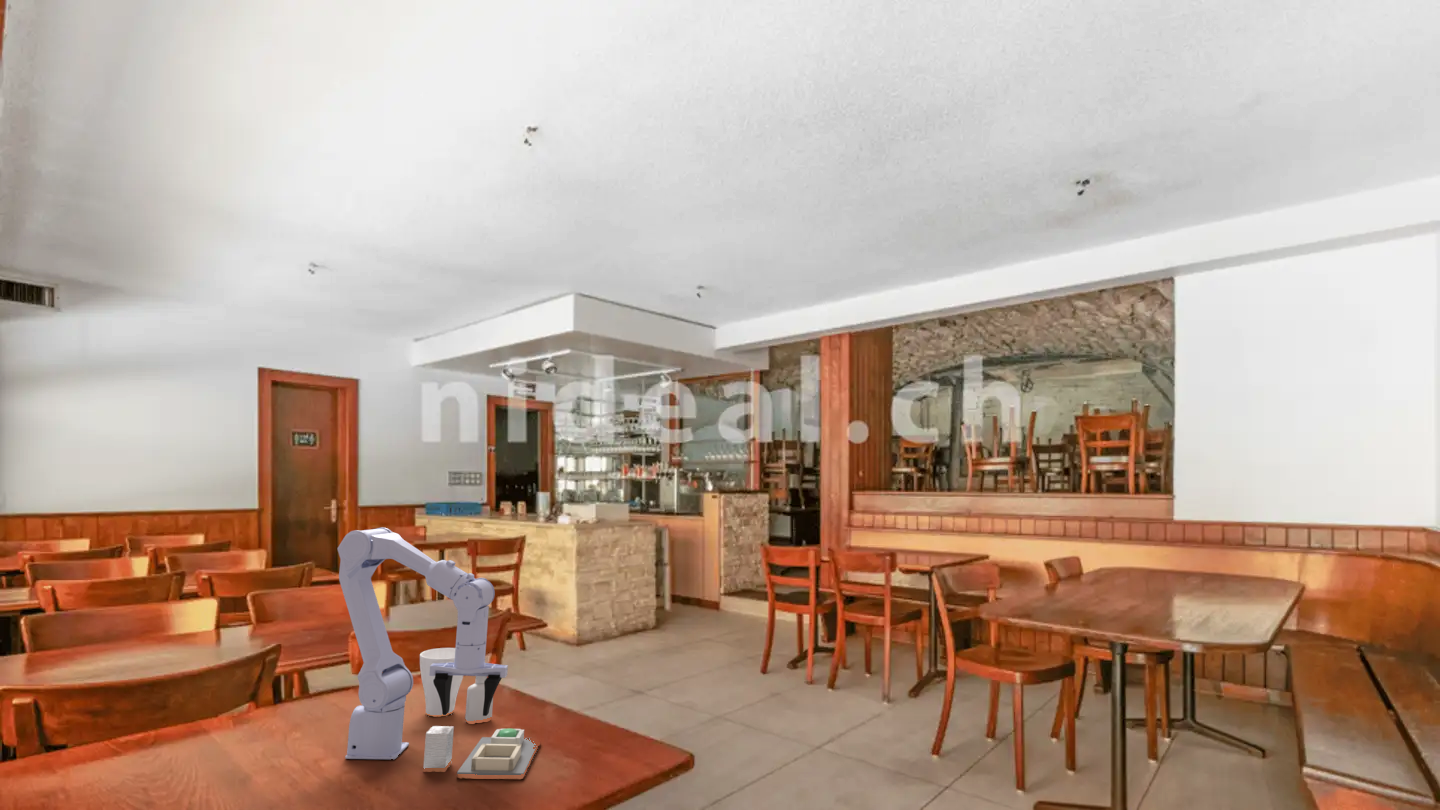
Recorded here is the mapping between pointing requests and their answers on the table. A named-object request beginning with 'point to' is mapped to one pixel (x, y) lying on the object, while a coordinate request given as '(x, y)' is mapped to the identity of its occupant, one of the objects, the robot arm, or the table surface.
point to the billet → (438, 746)
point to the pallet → (499, 755)
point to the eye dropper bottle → (476, 701)
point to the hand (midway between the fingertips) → (465, 713)
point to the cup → (429, 688)
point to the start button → (508, 733)
